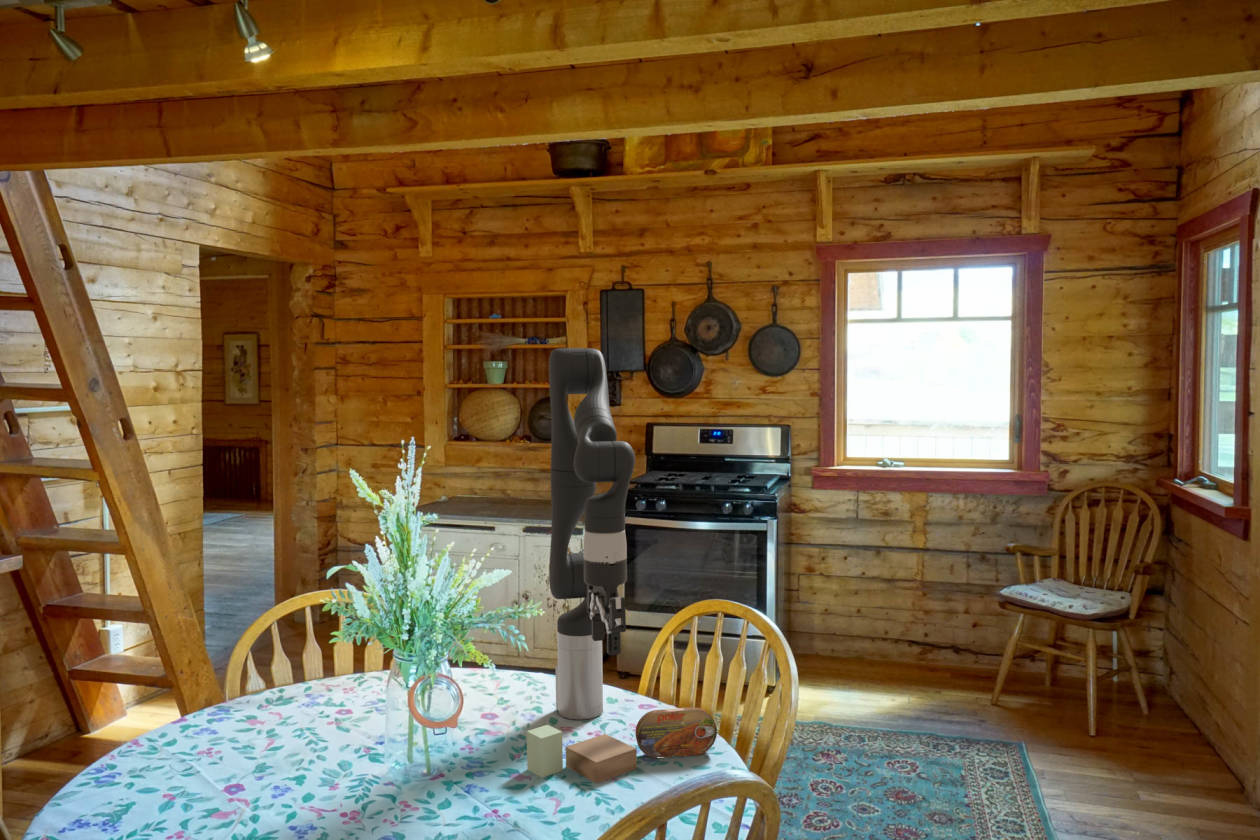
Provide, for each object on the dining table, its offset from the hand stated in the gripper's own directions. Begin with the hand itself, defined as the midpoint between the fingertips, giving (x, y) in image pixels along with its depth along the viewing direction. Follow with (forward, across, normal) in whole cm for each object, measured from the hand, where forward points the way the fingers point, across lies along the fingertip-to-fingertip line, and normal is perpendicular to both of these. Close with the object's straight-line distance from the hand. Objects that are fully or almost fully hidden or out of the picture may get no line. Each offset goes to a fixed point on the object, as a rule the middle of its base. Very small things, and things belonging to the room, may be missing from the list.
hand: (605, 647), depth 166 cm
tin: (+23, -3, +14) cm, 27 cm away
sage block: (+23, -5, -10) cm, 25 cm away
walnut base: (+23, -2, 0) cm, 23 cm away
